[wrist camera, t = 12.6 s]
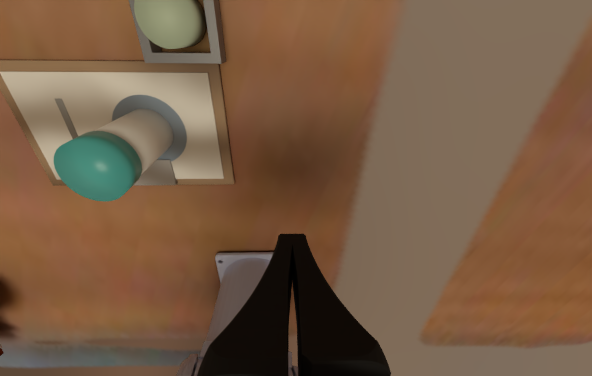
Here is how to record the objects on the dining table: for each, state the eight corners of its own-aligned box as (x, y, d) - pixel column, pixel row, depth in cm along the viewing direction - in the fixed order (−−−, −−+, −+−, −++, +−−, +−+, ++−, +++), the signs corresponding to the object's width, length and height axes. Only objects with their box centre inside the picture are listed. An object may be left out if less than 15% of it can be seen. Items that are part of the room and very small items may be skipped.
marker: (178, 154, 21) (136, 202, 15) (131, 152, 21) (69, 200, 15) (169, 108, 19) (116, 142, 13) (117, 105, 19) (40, 139, 13)
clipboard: (234, 182, 24) (233, 186, 23) (55, 183, 23) (49, 187, 22) (219, 61, 18) (216, 62, 18) (-12, 59, 18) (-22, 60, 17)
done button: (209, 47, 18) (198, 49, 15) (162, 46, 17) (143, 48, 15) (201, -12, 16) (187, -19, 14) (148, -13, 16) (125, -20, 14)
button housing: (226, 61, 18) (221, 63, 17) (155, 61, 18) (145, 63, 17) (215, -29, 16) (209, -35, 15) (132, -30, 16) (119, -36, 14)
